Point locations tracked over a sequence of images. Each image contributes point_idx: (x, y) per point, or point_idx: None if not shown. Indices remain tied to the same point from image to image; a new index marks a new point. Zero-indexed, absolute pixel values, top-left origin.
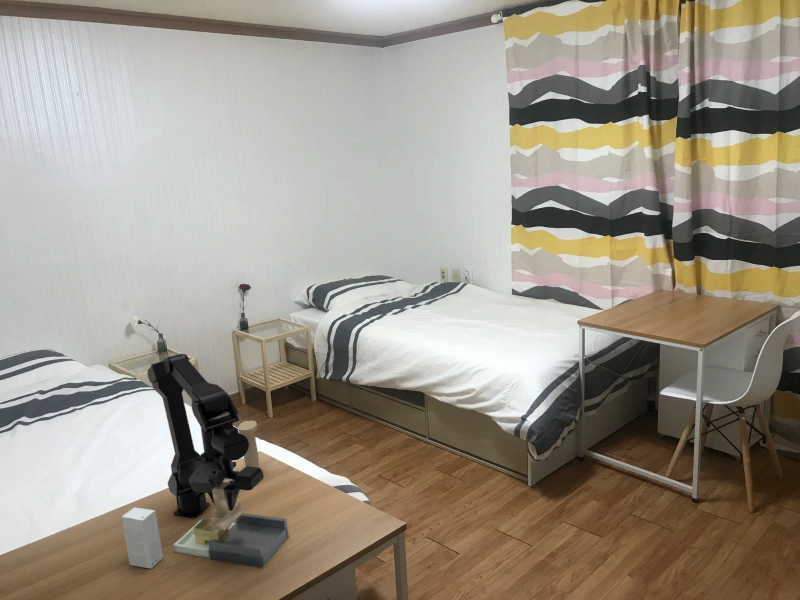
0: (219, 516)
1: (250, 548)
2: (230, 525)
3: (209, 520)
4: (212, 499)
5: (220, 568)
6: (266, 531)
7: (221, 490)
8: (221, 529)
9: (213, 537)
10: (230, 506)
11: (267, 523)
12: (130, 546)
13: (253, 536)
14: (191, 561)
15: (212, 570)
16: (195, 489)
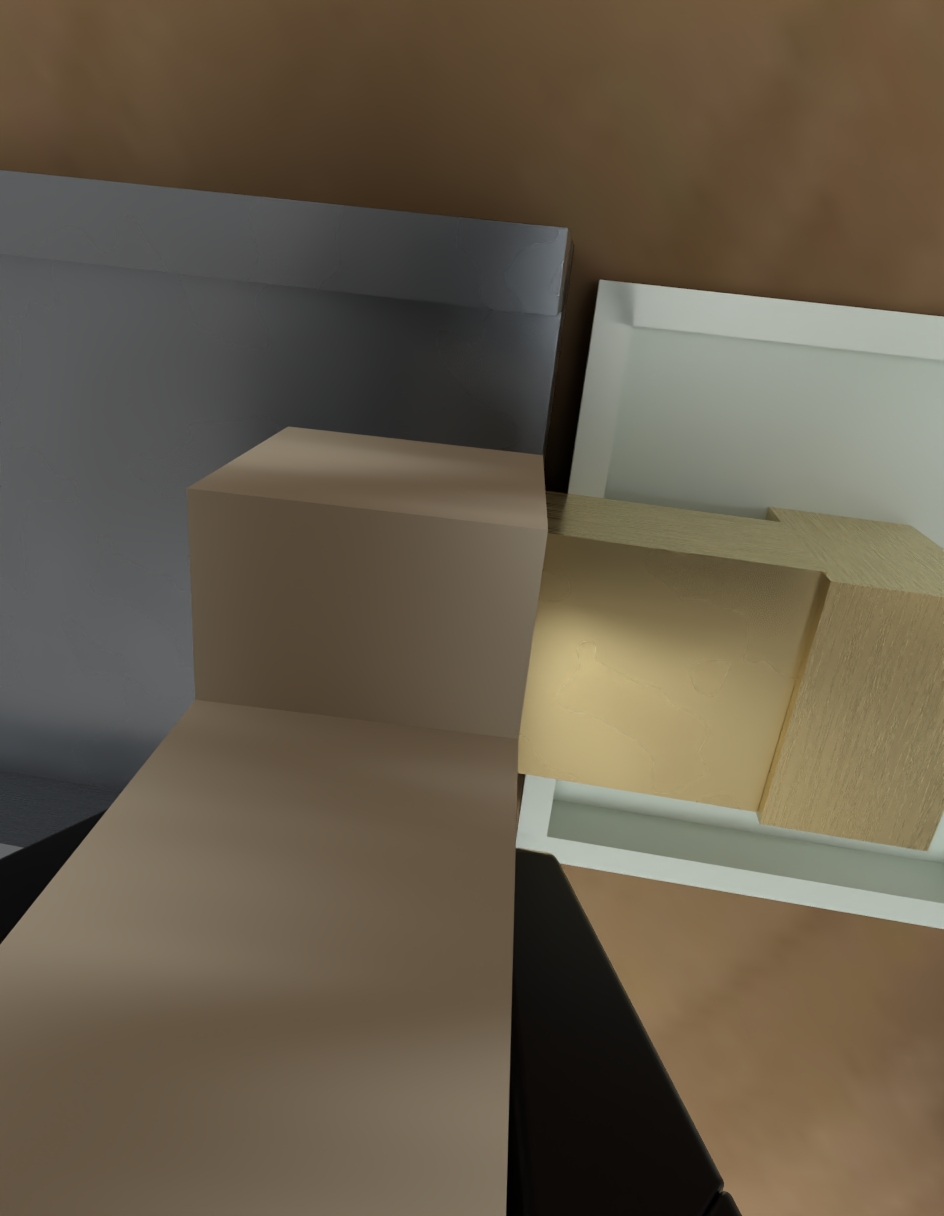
0: (324, 566)
1: None
2: (574, 831)
3: (808, 803)
4: (618, 1083)
5: (355, 74)
6: (38, 698)
7: None
8: (356, 434)
9: (627, 515)
10: (67, 847)
11: (57, 808)
12: None
13: (123, 596)
14: (830, 165)
15: (439, 7)
16: None
